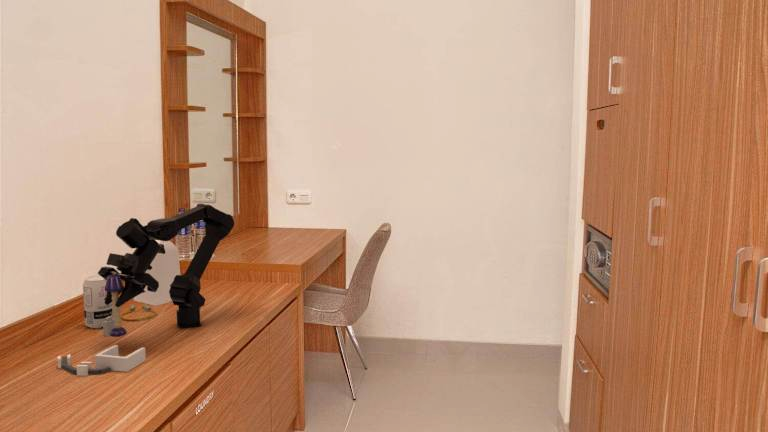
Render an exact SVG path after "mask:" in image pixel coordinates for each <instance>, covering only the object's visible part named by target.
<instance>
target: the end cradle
mask: <svg viewBox="0 0 768 432" xmlns="http://www.w3.org/2000/svg"><path fill="white" fill-rule="evenodd" d="M145 361H147V360H146V347H140V348H138V349H136V350H134V351H133V352H131V353H129V354H127V355H126V356H120V354H119V344H114V345H112V346H110V347H108V348H105V350H102V351H101V352H99V353H97V354H95V355H94V369H101V368H105V367H110V369H111V371H114V372H121V373H122V372H124V373H128V372H130V371H131V370H133V369H134V368H136V367H137V366H139V365H141V364H142V363H144V362H145Z"/></svg>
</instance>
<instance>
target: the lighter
mask: <svg viewBox="0 0 768 432" xmlns="http://www.w3.org/2000/svg"><path fill="white" fill-rule="evenodd" d="M119 308H120V310H119V312H120V313H121V308H122V305H121V306H120V307H119ZM113 313H114V312H113V310H112V315H111V316H108V317H106V321H104V322H103V328H102V331H103V332H102V333H103V337H111V336H110V332H111V330H112V329H114V328H115V326H114V324H115V322H114V316H113Z"/></svg>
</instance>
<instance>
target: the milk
mask: <svg viewBox="0 0 768 432" xmlns="http://www.w3.org/2000/svg"><path fill="white" fill-rule="evenodd" d="M156 241H157V242H158V243H159V244H163V245H164V249H165V254H161V253H157V255H156V257H155V258H154V260H153V261H152V263H151V264H150V266H152V269H151V270H147V271H146V272H145V273H148V274H150V275H151V276H152V277H153V278H155V279H156V280H157V281H158V282H159V287H158V289H157V291H156V292H151V291H148V290H147V287H148V286H146V287H145V289H144V291H145V292H144V293H141V294H139V295H137V296H136V297H134V298H133V301H135V302H139V303H143V304H146V305H147V304H148V305H150V306H151V305H152V306H154V307H155V306H156V307H157V306H160V305H164V304H167V303H173V302H172V299H171V298H170V293H169V290H170V288H171V287H170V285H171V284H172V282H173V281H174V278H175V276H176V275H181V267H180V255H179V249H178V246H176V245H175V243H173V242H172V241H171V240H169V241H160V240H156Z"/></svg>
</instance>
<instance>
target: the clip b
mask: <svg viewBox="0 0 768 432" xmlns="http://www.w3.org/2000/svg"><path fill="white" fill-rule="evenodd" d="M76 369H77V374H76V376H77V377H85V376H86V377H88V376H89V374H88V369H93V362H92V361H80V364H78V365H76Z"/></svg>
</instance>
